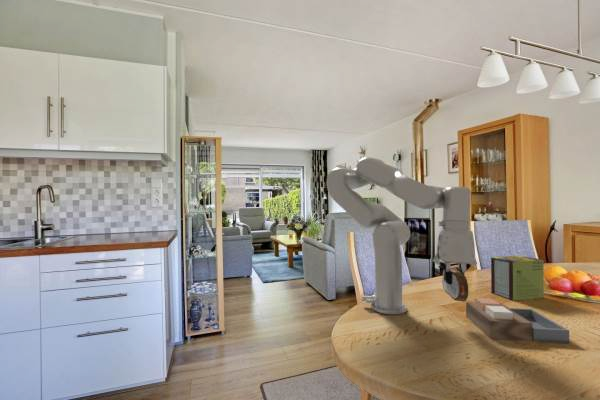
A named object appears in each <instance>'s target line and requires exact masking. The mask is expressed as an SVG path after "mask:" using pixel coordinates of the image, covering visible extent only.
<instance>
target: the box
mask: <svg viewBox="0 0 600 400" xmlns="http://www.w3.org/2000/svg"><path fill="white" fill-rule="evenodd" d="M508 308H509V309H511V310H513V311H514V312H516V313H517V314H519V315H520V316H522V317H523V318H525V319H527V320H528V321H530V322H531V323H532V342H542V343H543V342H544V343H559V344H560V343H563V344H567V343H568V344H569V343H570V330H569V329H568V328H566V327H564V326H562V325H560V324H558V323H557V322H555V321H554V320H552V319H550V318H548V317H546V316H545V315H543V314H541V313H539V312H538V311H536V310H534V309H532V308H518V307H508Z"/></svg>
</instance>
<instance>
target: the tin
mask: <svg viewBox="0 0 600 400" xmlns="http://www.w3.org/2000/svg"><path fill="white" fill-rule="evenodd" d="M450 272H452V279H451V285H449V284H447V283H446V281H445V280H444V269H443V270H442V281H441V282H442V287H443V291H444V292H445V293H447V294H448V295H449V296H450V298H452V299H453V300H454V301H455V302H463V303H464V302H465V303H466V302H467V299H468V297H469V282H468V279H467V277H466V275H465V273H464V274H463V273H461V272H460V271H458V269H457V268H455V267H450Z"/></svg>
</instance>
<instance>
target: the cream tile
mask: <svg viewBox="0 0 600 400" xmlns="http://www.w3.org/2000/svg"><path fill="white" fill-rule="evenodd" d="M486 313H487V314H489V315H490V316H491V317H493V318H494V319H512V320H513V313H512V312H511V311H509V310H508V309H506V308H505V307H503V306H486Z"/></svg>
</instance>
